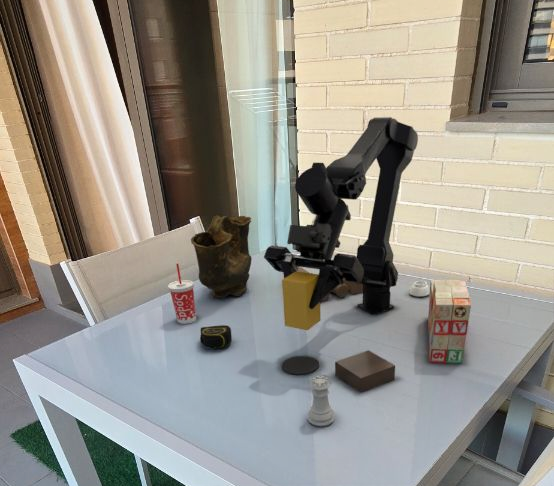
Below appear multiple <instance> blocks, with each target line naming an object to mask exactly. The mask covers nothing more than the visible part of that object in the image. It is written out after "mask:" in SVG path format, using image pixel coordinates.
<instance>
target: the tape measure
mask: <svg viewBox="0 0 554 486" xmlns="http://www.w3.org/2000/svg"><path fill="white" fill-rule="evenodd" d="M199 340H200V341H199V342H200V343H201V344H202V346H203V347H204V348H207V349H221V348H225V347H228V346H229V345H230V344H231V343H232V341H233V340H232V328H231V327H230V326H229V325H225V324H224V325H223V324H222V325H221V324H220V325H212V326H202V327H200V338H199Z"/></svg>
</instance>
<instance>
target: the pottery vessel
mask: <svg viewBox="0 0 554 486" xmlns="http://www.w3.org/2000/svg"><path fill="white" fill-rule="evenodd" d="M251 222H252V217H250V216H245V215H239V216H233V217H229V216H227V215H225V216H222V217H221V216H220V215H215V216H213V218H212V220H211V223H210V225H209V227H208V228H207V230H206V231H201V232H198V233H195V234H194V236H192V237H191V238H190V243H191V245H193V247H194V251H195V255H196V261H197V266H198V279H199V282H200V283H201V285H203V286H204V287H206V288H207V289H209V290H211V291H210V295H211V297H212V298H213V299H218V298H223V299H225V298H226V297H227V296H228V295H232V296H236V297H240V296H241V295H243V294H244V293H246V291H248V287H247V283H248V281H249V279H250V269H251V266H252V256H251V255H250V251H249V233H250V224H251Z"/></svg>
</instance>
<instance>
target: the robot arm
mask: <svg viewBox="0 0 554 486" xmlns="http://www.w3.org/2000/svg"><path fill="white" fill-rule="evenodd" d="M418 142H419V135H418V132H417V131H416V130H415V129H414V126H412V125H408V124H406V123H403V122H400V121H398V120H397V119H396V118H393V117H391V116H387V117H386V116H383V117H381V116H380V117H378V116H377V117H372V118H370V119H369V121H368V123H367V127H366V129H365V130H364V131H363V133H362V134H361V135H360V136H359V138H358V139H357V141H356V142H355V143H354V145H353V146H352V147H351V149H350V150H349V151H348V152H347V153H346V154H345V155H344V156H342V157H339V158H337V159H334V160H333V161H332V162H331V163H330V164H328V165H327V166H326V164H325V163H324V162H312V165H311V167H310V168H308V169H306V170H304V171H303V172H302V173H301V174H300V175H299V176H298V177H297V178H296V180H295V183H294V188H295V192H296V194H297V195H298V196H299V199H301V201H302V202H303V204H304V205H305V207H306V208H307V210H308V211H309V213H311V214H313V215H314V216H313V218H312V221H311V224H306V225H297V224H290V225H289V230H288V235H287V242H286V244H287V245H293V246H295V247H294V249H295V251H296V252H297V253H300V254H299V255H297V254H293V252H291V251H290V250H289V248H288V247H287V246H280V245H270V246H267V248H266V250H265V253H264V255H263V258H264V259H265V261H266V262H267V263H268V264H269V265H270V266H271V267H272V268H273V269H274V270H275V271H277V272H278V273H283V279H284V278H286V277H288V276H289V275H291V274H293V273H294V272H296V271H298V269H299V267H300V268H307V269H312V270H313V269H314V270H318V273H319V279H318V281H317V284H316V287H315V289H314V292H313V294H312V297H311V300H310V304H309V308H310V309H313V308H314V307H315V306H316V305H317V304H318V303H319V302H320V303H321V302H322V301H321V300H322V299H323V298H324V297H325V296H326V295H327V294H329V295H330V293H331V292H332V290H333V289H335V288H336V287H337V286H338V285H343V284H344V281H343V278H345V280H346V281H347V282H353V283H357V284H363V292H362V302H361V303H358V304H357V308H359V309H361V310H363V311H364V312H365V311H366V312H367V313H369V314H371V315H377V314H380V313H383V312H386V311H390V310H392V309H395V306H394V305H393V304H391V288H392V287H396V286H397V282H398V280H399V272H398V270H397V267H396V266H395V263H394V251H393V249H392V247H391V244H390V239H391V238H390V237H391V232H392V227H393V222H394V216H395V211H396V207H397V202H398V201H397V200H398V194H399V190H400V185H401V179H402V174H403V172H404V171H405V170H406V169H407V168H408V166H409V165H410V163H411V162H412V160H413V156H414V152H415V150H416V149H417V147H418ZM375 161H376V162H377V164H378V168H379V174H378V179H377V185H376V190H375V195H374V201H373V207H372V212H371V218H370V225H369V230H368V235H367V239H366V240H365V241H364V242H363V244H359V245H358V247H357V249H356V255H355V254H347V253H340V252H339V253H336V254H335V255H334V253H335V251H336V248H337V249H339V248H340V246H341V242H340V239H339V238H340V236H341V234H342V230H343V229H344V228H343V227H344V225H345V222H346V221H351V219H352V216H351V212H350V211H349V210H350V209H349V205H348V204H347V203H346V202H345V201H344V200H353V201H354V200H357V199H358V198H360V196H361V194H362V193H363V191H364V189H365V187H366V185H367V178H366V174H367V172H368V170H369V169H370V168H371V166H372V164H373V163H374V162H375ZM333 255H334V256H333ZM332 258H333V259H332Z"/></svg>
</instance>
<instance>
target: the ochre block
mask: <svg viewBox="0 0 554 486" xmlns="http://www.w3.org/2000/svg"><path fill="white" fill-rule="evenodd" d="M312 273H313V272H309V273H305V272H298V271H296V272H294V273H293V274H291V275H289V276H288V277H286V278H284V277H283V279H281V288H282V302H283V304H282V305H283V316H284V319H283V320H284V327H289V328H294V329H299V330H302V331H303V330H304V331H309V330H310V329H312V328H313V327H314V326H315V325H317V324H318V323H320V322H321V320H322V319H321V301H320V302H319V303H318V304H317V305H316V306H315V307H314V308H313V309H310V308H309V304H310V300H311V297H312V294H313V292H314V289H315V287H316V284H317V281H318V279H319V274H318V273H313V274H312Z"/></svg>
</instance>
